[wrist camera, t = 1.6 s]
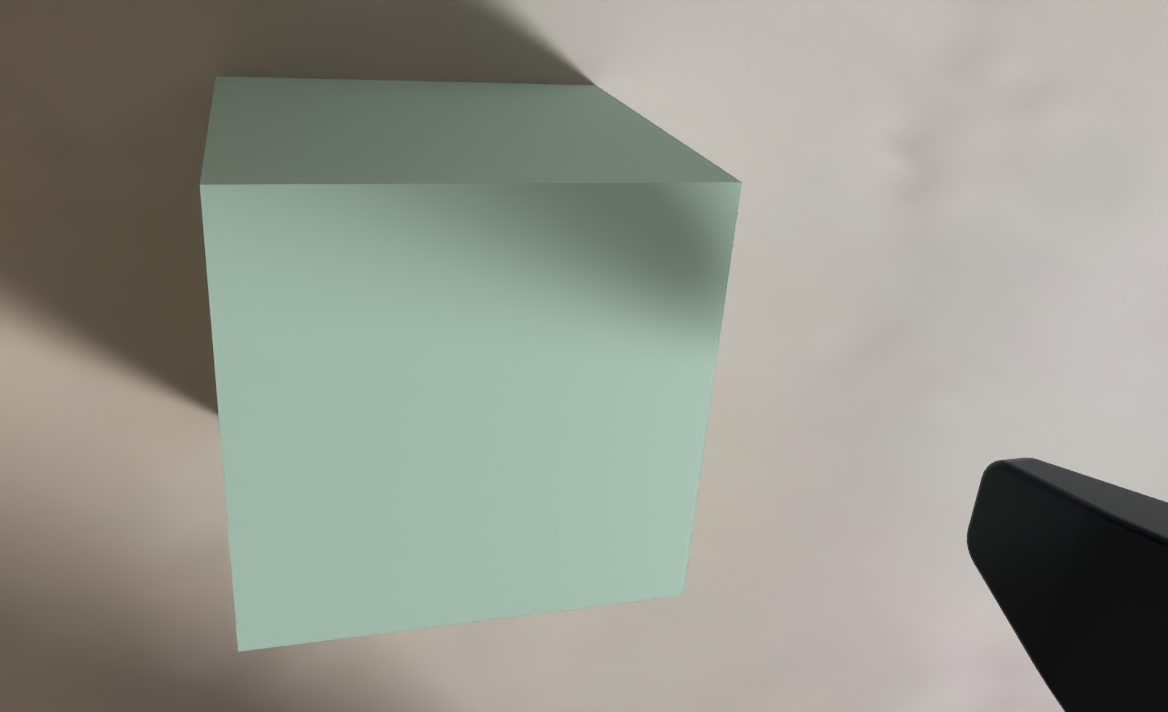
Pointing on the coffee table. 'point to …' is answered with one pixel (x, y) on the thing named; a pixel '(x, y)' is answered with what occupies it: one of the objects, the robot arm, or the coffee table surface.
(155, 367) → the coffee table surface
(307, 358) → the sage block
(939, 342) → the coffee table surface
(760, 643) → the coffee table surface
